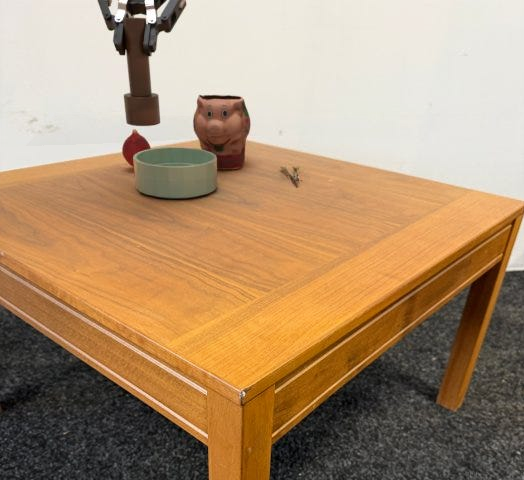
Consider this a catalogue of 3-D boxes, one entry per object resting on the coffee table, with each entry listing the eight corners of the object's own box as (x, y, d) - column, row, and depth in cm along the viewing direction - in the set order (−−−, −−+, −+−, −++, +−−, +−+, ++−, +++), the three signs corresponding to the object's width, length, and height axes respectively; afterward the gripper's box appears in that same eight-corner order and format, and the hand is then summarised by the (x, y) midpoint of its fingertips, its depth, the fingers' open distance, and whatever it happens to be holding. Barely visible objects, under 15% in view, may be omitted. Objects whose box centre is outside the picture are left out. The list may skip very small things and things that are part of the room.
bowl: (133, 201, 97) (130, 167, 94) (138, 177, 110) (136, 146, 107) (219, 200, 99) (219, 167, 96) (214, 177, 112) (214, 147, 109)
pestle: (125, 126, 83) (113, 18, 75) (127, 119, 87) (117, 16, 80) (159, 126, 84) (152, 19, 76) (160, 119, 88) (153, 17, 80)
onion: (158, 169, 116) (155, 129, 111) (136, 174, 112) (132, 133, 108) (140, 164, 119) (137, 125, 115) (118, 169, 115) (114, 128, 111)
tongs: (290, 187, 108) (291, 177, 107) (279, 173, 119) (279, 163, 118) (311, 187, 109) (312, 177, 108) (297, 173, 120) (298, 163, 119)
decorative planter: (197, 152, 130) (195, 87, 122) (248, 153, 131) (249, 89, 123) (192, 175, 113) (189, 101, 106) (251, 176, 114) (252, 103, 106)
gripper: (90, -74, 78) (76, 29, 75) (188, -71, 78) (178, 33, 75) (106, -28, 86) (93, 68, 82) (195, -25, 85) (186, 72, 82)
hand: (134, 51), depth 78 cm, fingers closed on pestle, 3 cm apart
